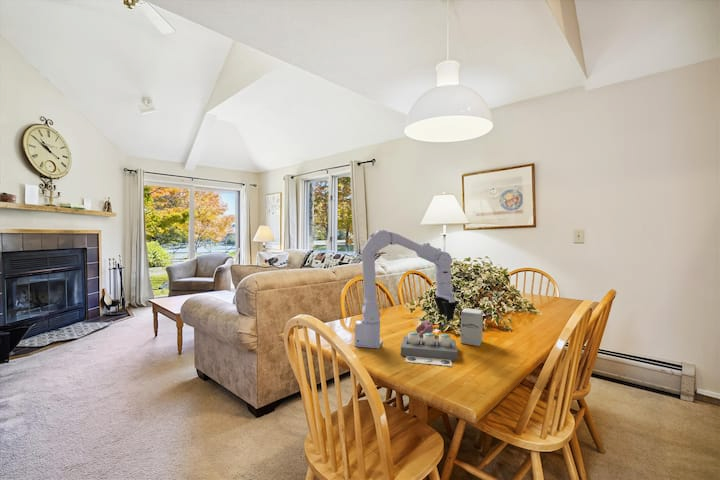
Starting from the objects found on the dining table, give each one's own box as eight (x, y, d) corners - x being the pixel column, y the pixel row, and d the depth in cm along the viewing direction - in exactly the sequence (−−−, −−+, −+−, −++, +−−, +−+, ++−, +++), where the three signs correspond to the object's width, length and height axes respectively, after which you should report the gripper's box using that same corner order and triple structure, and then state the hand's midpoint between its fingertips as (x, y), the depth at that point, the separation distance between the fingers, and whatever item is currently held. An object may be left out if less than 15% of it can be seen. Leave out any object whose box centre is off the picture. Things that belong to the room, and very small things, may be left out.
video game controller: (428, 342, 133) (436, 327, 133) (418, 337, 133) (426, 322, 133) (424, 334, 143) (431, 320, 143) (414, 330, 143) (422, 316, 143)
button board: (400, 355, 115) (400, 347, 115) (404, 344, 127) (404, 336, 126) (457, 360, 111) (457, 351, 110) (455, 348, 122) (455, 340, 122)
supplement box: (459, 343, 127) (460, 311, 127) (463, 338, 134) (463, 307, 134) (480, 346, 124) (480, 313, 124) (482, 341, 131) (483, 309, 130)
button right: (439, 348, 116) (439, 336, 116) (438, 344, 120) (439, 333, 120) (450, 349, 115) (450, 337, 115) (450, 345, 119) (450, 334, 119)
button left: (407, 345, 118) (407, 334, 118) (408, 342, 122) (408, 331, 122) (418, 346, 117) (418, 335, 117) (419, 343, 121) (419, 331, 121)
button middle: (423, 347, 117) (423, 335, 117) (423, 343, 121) (423, 332, 121) (434, 348, 116) (434, 336, 116) (434, 344, 120) (434, 333, 120)
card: (405, 362, 109) (405, 361, 109) (406, 356, 114) (406, 355, 114) (451, 366, 106) (451, 365, 106) (451, 360, 111) (451, 359, 111)
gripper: (461, 284, 121) (464, 320, 121) (446, 278, 135) (448, 311, 136) (443, 286, 120) (445, 323, 120) (430, 280, 134) (432, 313, 135)
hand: (446, 317), depth 128 cm, fingers open, 7 cm apart
